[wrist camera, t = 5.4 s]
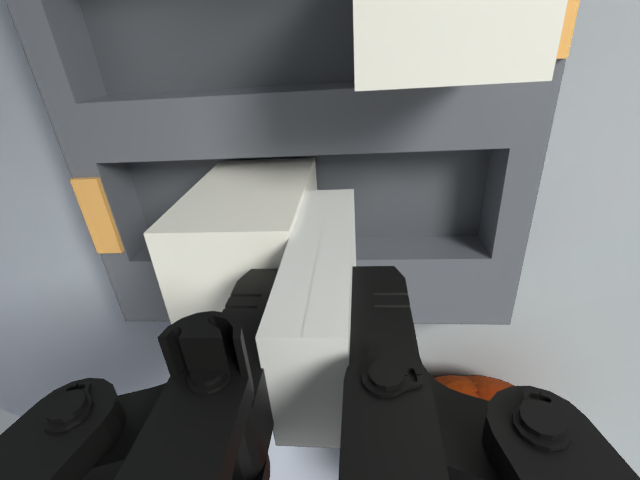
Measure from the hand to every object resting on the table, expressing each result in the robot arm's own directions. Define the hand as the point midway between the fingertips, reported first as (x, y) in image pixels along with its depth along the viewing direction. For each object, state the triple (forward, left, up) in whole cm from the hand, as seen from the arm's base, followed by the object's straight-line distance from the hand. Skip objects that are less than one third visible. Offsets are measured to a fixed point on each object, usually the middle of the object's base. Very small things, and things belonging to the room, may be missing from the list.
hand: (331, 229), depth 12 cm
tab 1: (0, -3, -3) cm, 4 cm away
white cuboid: (-6, +3, -3) cm, 7 cm away
